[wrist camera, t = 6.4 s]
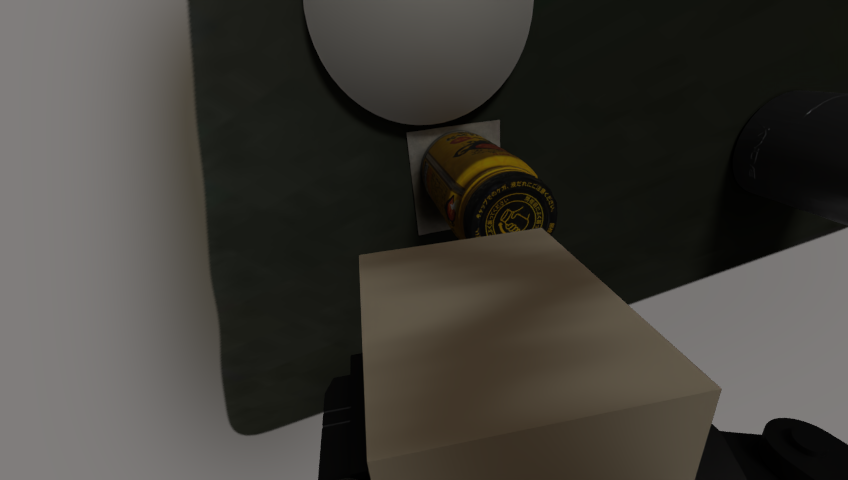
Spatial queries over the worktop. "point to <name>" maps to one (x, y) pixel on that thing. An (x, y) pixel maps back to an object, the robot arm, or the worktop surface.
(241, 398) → the worktop surface
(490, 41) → the dish
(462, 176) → the condiment
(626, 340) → the block
